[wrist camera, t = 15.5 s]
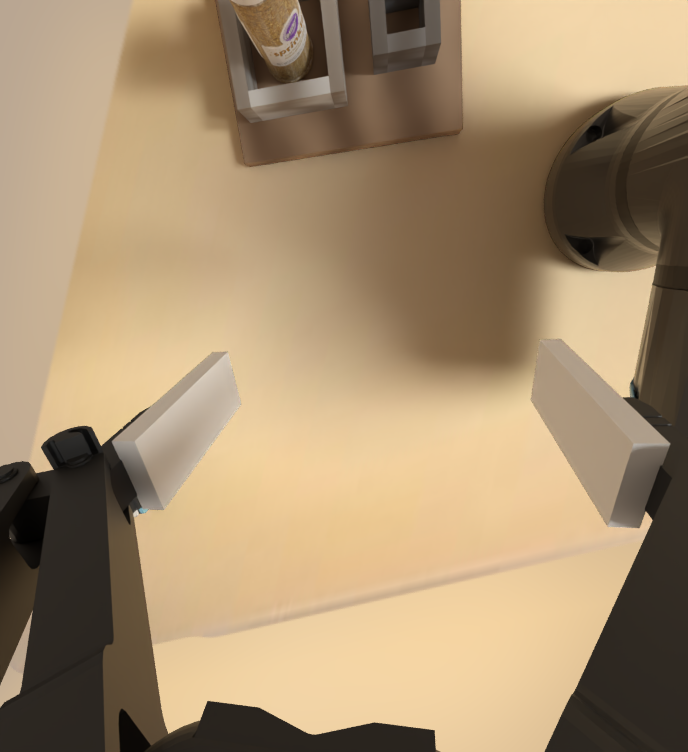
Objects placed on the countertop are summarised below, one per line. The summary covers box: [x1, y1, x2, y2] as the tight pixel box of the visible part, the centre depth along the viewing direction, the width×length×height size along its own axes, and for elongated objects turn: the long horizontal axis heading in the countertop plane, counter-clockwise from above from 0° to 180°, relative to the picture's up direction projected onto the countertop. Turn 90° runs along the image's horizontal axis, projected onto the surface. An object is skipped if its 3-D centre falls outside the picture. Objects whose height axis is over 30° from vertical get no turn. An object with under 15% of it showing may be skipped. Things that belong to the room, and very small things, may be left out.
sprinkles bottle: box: [229, 0, 313, 83], centre depth 27 cm, size 5×5×14 cm
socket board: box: [215, 0, 463, 167], centre depth 32 cm, size 21×16×5 cm
